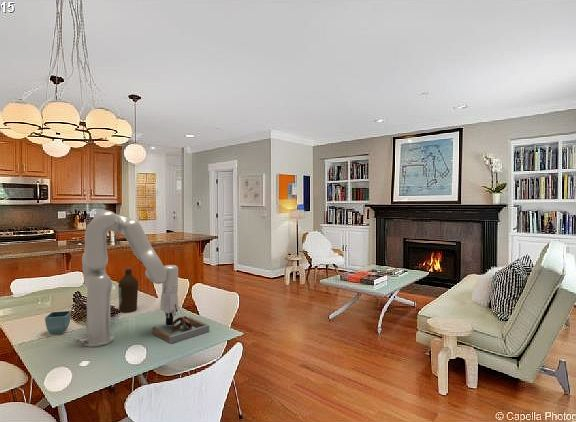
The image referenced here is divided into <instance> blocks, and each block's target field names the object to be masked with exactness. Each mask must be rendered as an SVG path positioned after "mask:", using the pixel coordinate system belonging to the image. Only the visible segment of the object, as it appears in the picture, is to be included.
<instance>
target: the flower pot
mask: <svg viewBox="0 0 576 422" xmlns="http://www.w3.org/2000/svg"><path fill="white" fill-rule="evenodd" d="M71 316H72V310H64V311H63V310H61V311H60V310H59V311H51V312H50V313H49V314H48V315H46V316H45V317H44V323H45V326H46V329H47V331H48V333H49V334H51V335H59V334H64V333H65V332H66V330H68V327H69V326H70V323H71V318H72V317H71Z"/></svg>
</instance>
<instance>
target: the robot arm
mask: <svg viewBox="0 0 576 422" xmlns="http://www.w3.org/2000/svg"><path fill="white" fill-rule="evenodd" d="M109 231H110V232H114V233H117V234H121V235H123V236H124V237H125V239H126V241H127V242H128V245H129V246H130V249H131V251H132V253H133V255H134V256H135V257H136V259H138V260H139V261H140V262H141V263H142V264H143V266H144V267H145V271H144V274H145V278H146V279H148V280H149V281H151V282H152V283H153V284H156V285H157V284H158V285H160V284H162V288H161V289H162V291H161V296H160V310H161V312H164V316H165V326H167V327H169V326H171V325H173V324H172V322H173V321H174V317H175V316H177V313H178V310H179V296H178V293H179V291H178V289H179V288H178V287H179V267H178V266H177V265H175V264H166V265H164V264H163V262H162V260H161V259H160V258H159V256H158V254H157V252H156V251H155V249H154V247H153V246H152V245H151V243H150V241H149V239H148V237H147V234H146V233H145V231H144V229H143V227H142V225H141V223H140V222H139V221H138V220H137V219H133V218H130V217H125V216H122V215H120V214H117V213H115V212H114V211H111V210H105V209H102V210H98V211H97V212H96V213H95V214H94V215H93V219H92V220H91V221H90V222H89V223H88V225H87V226H86V228H85V232H84V252H83V254H82V257H81V264H82V276H83V282H84V285H85V287H86V289H87V291H86V332H84V335H82V336H77V337H74V339H73V341H74V343H78V342H79V343H82V345H83V346H85V347H89V348H97V347H103V346H105V345H108V344H111V343H112V342H113V341H114V339H115V336H114V335H113V334H111V297H112V286H113V284H112V279H111V277H110V276H109V275H108V274H107V270H106V267H107V265H108V263H109V256H108V248H107V247H108V246H107V235H108V232H109Z"/></svg>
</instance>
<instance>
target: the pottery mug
mask: <svg viewBox="0 0 576 422" xmlns="http://www.w3.org/2000/svg"><path fill="white" fill-rule="evenodd" d="M178 322H179V323H178ZM177 323H178V324H177ZM172 324H173V325H170V327H171V332H172V333H174V332H177V331H182V327H183V328H188V330H192V329H193V326H192V325H191V323H190V321H189V320H188V317H187V316H186V315H185V316H179V317H177V318H175V319H173V322H172Z"/></svg>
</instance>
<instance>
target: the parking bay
mask: <svg viewBox="0 0 576 422" xmlns="http://www.w3.org/2000/svg"><path fill="white" fill-rule="evenodd" d="M187 318H188V320H189V321H190V323H191V326H192V327H194V328H192V330H190V329H188V330H186V331H182V332H179V333H176V334H173V335H172V334H170V333H168V332H166V331H165V330H162V329H160V328H159V327H157V326H152V327H151V334H153V335H154V336H156V337H158V338H159V339H161V340H164V341H165V342H166V343H169V344H175V343H177V342H182V341H183V340H187V339H189V338H193V337H196V336H200V335H203V334H206V333H208V332H210V325H209V324H207V323H204V322H201V321H200V320H197V319H195V318H193V317H190V316H189V317H187Z"/></svg>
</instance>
